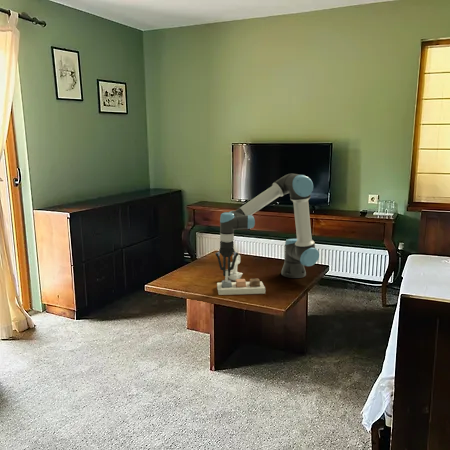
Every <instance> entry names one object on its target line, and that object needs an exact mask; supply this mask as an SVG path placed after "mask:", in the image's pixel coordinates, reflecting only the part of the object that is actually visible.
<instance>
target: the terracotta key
mask: <svg viewBox="0 0 450 450" xmlns="http://www.w3.org/2000/svg"><path fill="white" fill-rule="evenodd" d="M235 282H236V287H246V282H247V281H246V279H245V278H240V279H236V281H235Z"/></svg>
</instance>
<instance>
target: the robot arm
mask: <svg viewBox="0 0 450 450" xmlns="http://www.w3.org/2000/svg"><path fill="white" fill-rule="evenodd" d="M313 191H314V183H313V181H312V179H311V178H310V177H309V176H306V175H305V174H298V173H288V174H285V175H284V176H283V175H282V177H280V178H279V179H277V180H275V181H274V182H273V183H272V185H271V186H270V187H268V188H267V189H266V190H264V191H262V192H261V193H259V194H258V195H257V196H255V197H253V198H252V199H250V200H249V201H248V202H246V203H245V204H243V205H241V206H240V207H238V208H237V209H235V210H231V211H228V212H227V211H225V212H222V213H220V217H219V225H220V226H219V227H220V228H219V239H220V241H219V250H218V252H217V251H216V252H215V253H214V254H215V257H216V258H217V261H218V266H219V269H220V270H221V271H222V272H223V273H222V275H223V277H224V281H225V282H228V280H229V277H228V276H230V272H231V271H230V270H233V269H234V265H235V261H236V257H237V256H238V255H239V253H238V251H236V250H235V247H234V246H235V245H234V244H235V241H234V239H235V236H234V235H235V234H234V233H235V231H236V230H250V229H254V227H255V225H256V220H255V217H254V214H255V213H257V212H259V211H260V210H262V209H263V208H264V207H266V206H268V205H269V204H270V203H272V202H273V201H275V200H276V199H278V198H279V197H284V196H285V195H287V194H289V197H290V199H289V200H290V201H291V202H292V203H293V204H292V205H293V213H294V221H295V223H294V224H295V230H296V231H295V232H296V234H295V235H296V238H288V239H286V240H285V242H284V243H285V244H284V263H283V265H282V269H281V276H283V277H285V278H290V279H301V278H304V277H306V276H307V272H306V268H305V267H312V266H314V265H315V264H316V263H317V262H318V261H319V259H320V251H319V250H318V249H317V248H316V243H315V241H314V240H313V239H312V238H313V237H312V228H311V217H310V207H309V206H310V204H309V200H310V199H311V194H312V192H313ZM220 256H222V259H223V260H222V261H221V257H220ZM233 256H234V257H233ZM231 257H232V261H231ZM231 262H232V265H231V267H230V263H231ZM226 267H227V269H226Z"/></svg>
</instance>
